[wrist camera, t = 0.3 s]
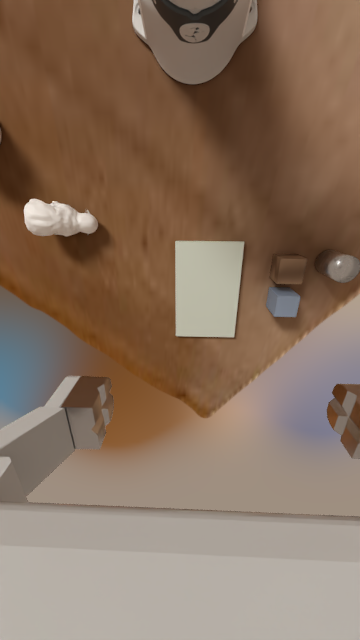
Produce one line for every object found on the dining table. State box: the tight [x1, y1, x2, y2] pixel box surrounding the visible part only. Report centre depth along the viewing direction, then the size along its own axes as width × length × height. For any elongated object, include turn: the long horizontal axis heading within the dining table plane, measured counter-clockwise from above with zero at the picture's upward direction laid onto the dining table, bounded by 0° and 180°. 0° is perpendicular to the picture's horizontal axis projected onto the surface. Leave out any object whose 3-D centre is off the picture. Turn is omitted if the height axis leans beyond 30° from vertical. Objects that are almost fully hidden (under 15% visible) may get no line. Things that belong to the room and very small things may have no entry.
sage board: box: [175, 241, 244, 337], centre depth 56 cm, size 22×14×1 cm, turn 0°
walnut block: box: [270, 254, 307, 284], centre depth 51 cm, size 5×5×5 cm
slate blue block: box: [266, 287, 300, 317], centre depth 54 cm, size 4×4×6 cm
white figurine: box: [24, 199, 98, 236], centre depth 47 cm, size 6×8×12 cm
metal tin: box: [315, 250, 360, 283], centre depth 49 cm, size 5×5×7 cm
